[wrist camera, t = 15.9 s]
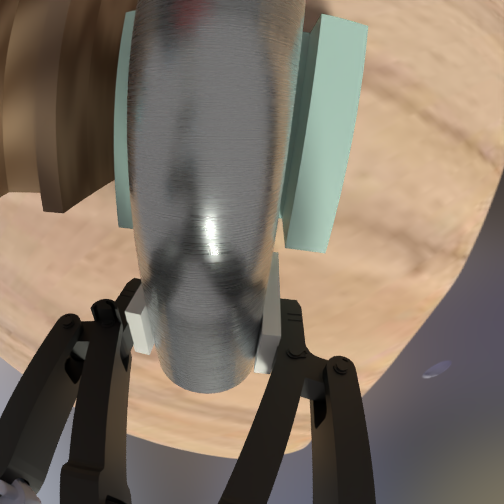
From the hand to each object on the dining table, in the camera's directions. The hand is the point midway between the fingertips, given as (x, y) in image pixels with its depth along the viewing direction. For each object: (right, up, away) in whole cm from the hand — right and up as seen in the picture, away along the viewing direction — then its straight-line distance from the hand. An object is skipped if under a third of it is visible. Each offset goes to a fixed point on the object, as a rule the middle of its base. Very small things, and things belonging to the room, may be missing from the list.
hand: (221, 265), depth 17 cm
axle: (+1, +4, -5) cm, 7 cm away
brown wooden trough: (-10, +13, -5) cm, 18 cm away
